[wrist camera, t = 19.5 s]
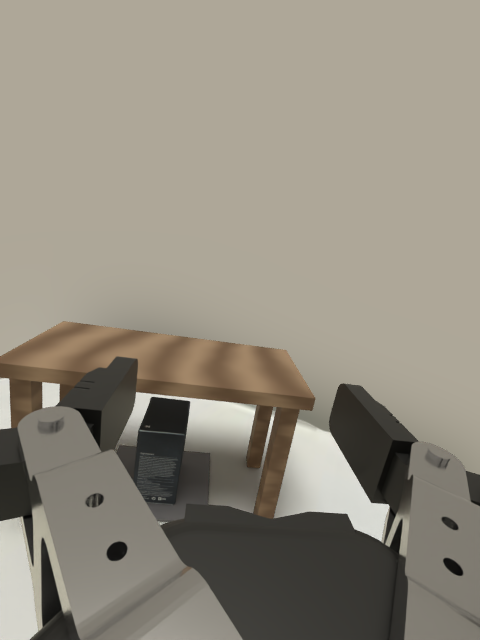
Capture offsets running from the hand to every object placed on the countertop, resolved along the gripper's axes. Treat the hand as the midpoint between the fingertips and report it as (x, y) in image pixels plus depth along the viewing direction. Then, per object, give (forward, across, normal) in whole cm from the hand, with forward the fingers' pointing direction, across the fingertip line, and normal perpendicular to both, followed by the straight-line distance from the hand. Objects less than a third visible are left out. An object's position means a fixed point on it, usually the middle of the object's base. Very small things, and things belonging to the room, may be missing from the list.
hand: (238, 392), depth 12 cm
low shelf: (+24, +5, +28) cm, 37 cm away
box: (+24, +5, +28) cm, 37 cm away
